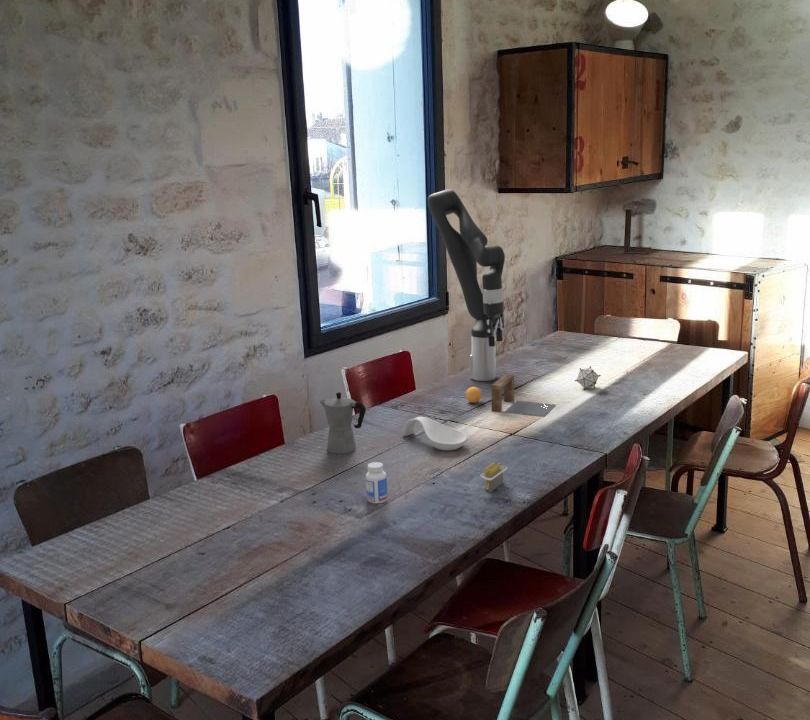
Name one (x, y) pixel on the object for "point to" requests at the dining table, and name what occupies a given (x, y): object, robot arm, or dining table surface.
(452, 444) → the spoon rest
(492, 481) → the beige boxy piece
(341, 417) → the coffeepot
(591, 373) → the game die
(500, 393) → the bridge
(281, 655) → the dining table surface
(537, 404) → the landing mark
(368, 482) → the pill bottle
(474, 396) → the ball
